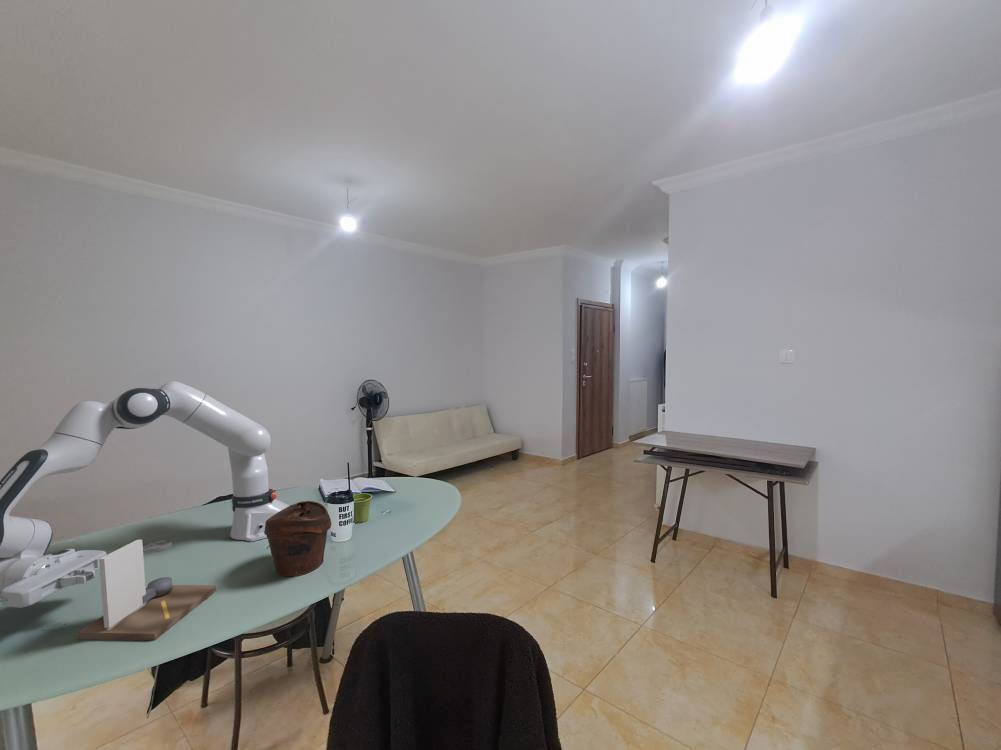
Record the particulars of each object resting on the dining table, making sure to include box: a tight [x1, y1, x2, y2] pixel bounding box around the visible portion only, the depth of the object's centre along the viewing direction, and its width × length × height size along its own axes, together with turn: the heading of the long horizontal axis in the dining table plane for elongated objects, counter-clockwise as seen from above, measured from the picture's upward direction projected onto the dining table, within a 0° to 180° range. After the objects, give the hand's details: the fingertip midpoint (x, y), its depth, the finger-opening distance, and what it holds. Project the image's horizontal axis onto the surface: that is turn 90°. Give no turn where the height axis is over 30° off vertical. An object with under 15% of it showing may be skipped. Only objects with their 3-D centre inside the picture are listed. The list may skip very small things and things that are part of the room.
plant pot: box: [352, 492, 373, 524], centre depth 166 cm, size 9×9×9 cm
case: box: [264, 500, 332, 577], centre depth 132 cm, size 18×20×18 cm
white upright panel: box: [99, 539, 173, 628], centre depth 109 cm, size 18×5×16 cm, turn 177°
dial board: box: [76, 584, 217, 641], centre depth 109 cm, size 20×18×2 cm
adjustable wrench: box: [143, 539, 173, 554], centre depth 140 cm, size 25×6×2 cm, turn 128°
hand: (89, 577), depth 108 cm, fingers closed
